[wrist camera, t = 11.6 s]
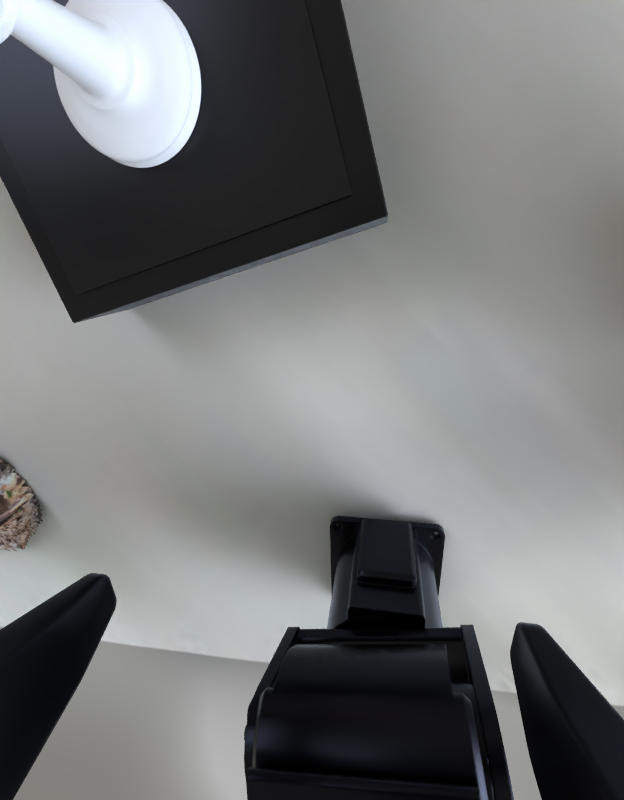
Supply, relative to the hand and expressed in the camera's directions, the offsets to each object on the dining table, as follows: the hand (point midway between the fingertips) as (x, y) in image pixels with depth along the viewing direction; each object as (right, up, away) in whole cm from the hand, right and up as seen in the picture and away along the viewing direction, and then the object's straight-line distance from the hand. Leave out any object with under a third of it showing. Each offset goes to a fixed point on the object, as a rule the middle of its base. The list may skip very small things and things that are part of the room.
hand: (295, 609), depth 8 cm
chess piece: (-6, +15, +5) cm, 17 cm away
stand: (-5, +17, +8) cm, 20 cm away
